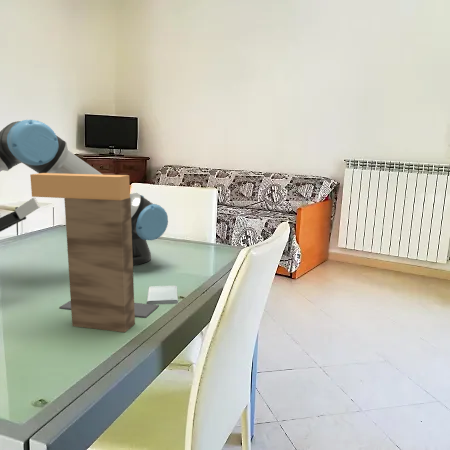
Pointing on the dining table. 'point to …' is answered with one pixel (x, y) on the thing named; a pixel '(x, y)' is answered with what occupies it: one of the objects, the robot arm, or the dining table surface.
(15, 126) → the robot arm
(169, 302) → the hard drive
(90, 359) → the dining table surface
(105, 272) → the walnut pedestal
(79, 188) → the orange rod
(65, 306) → the charcoal mat
